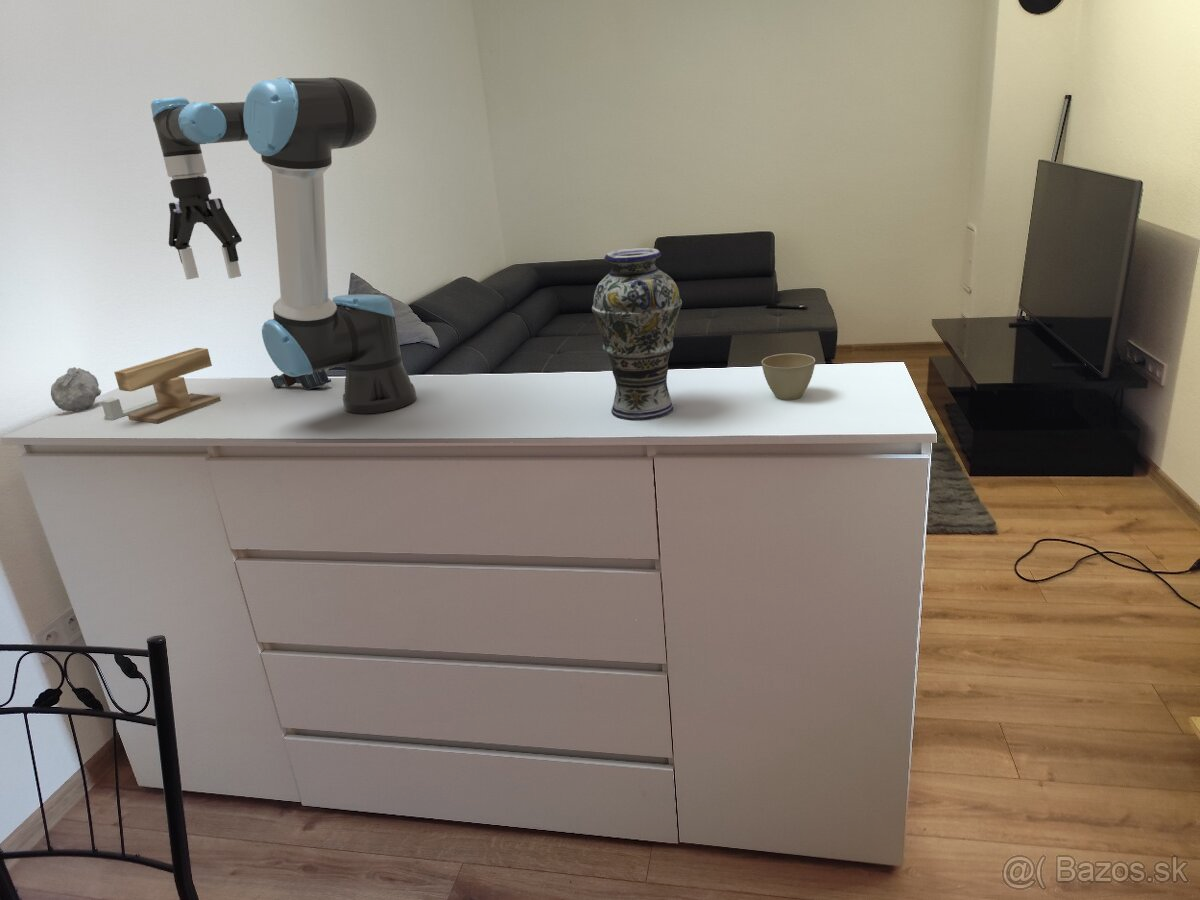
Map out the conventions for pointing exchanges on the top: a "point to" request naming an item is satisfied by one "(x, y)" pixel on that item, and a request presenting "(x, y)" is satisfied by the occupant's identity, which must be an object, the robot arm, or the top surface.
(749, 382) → the top surface
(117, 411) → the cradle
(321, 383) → the gun
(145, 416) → the fulcrum
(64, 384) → the stone
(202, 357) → the bar
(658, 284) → the vase
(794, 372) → the flower pot
